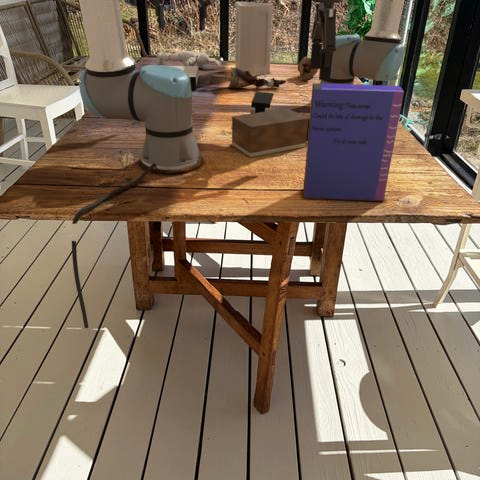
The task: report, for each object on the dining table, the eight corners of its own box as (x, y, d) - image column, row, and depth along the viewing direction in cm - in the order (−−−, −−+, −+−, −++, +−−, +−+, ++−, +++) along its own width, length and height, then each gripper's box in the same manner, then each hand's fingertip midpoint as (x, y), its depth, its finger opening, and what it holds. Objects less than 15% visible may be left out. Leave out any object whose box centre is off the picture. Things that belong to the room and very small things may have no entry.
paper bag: (273, 76, 210) (276, 6, 196) (239, 77, 209) (240, 6, 194) (266, 67, 226) (268, 2, 212) (235, 67, 225) (235, 1, 210)
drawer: (309, 129, 146) (310, 108, 142) (328, 138, 139) (330, 116, 135) (243, 140, 136) (244, 118, 133) (260, 150, 129) (261, 128, 126)
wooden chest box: (285, 135, 143) (287, 108, 139) (305, 146, 135) (308, 118, 131) (231, 144, 135) (231, 116, 131) (250, 157, 127) (251, 127, 123)
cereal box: (379, 191, 109) (398, 84, 97) (383, 201, 105) (404, 90, 93) (303, 188, 110) (312, 82, 98) (304, 197, 106) (314, 88, 94)
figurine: (210, 87, 179) (288, 95, 182) (212, 65, 176) (291, 73, 180) (208, 84, 201) (278, 91, 205) (210, 64, 198) (280, 71, 202)
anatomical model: (307, 83, 216) (306, 83, 202) (293, 69, 215) (291, 69, 201) (327, 61, 212) (327, 60, 198) (313, 47, 211) (312, 45, 197)
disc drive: (151, 89, 187) (150, 76, 185) (158, 77, 206) (157, 64, 204) (196, 90, 188) (195, 77, 185) (199, 77, 207) (198, 65, 204)
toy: (176, 74, 211) (175, 58, 207) (152, 64, 228) (150, 49, 225) (222, 68, 223) (222, 53, 219) (196, 59, 240) (196, 44, 237)
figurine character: (269, 131, 150) (273, 112, 162) (270, 107, 146) (274, 90, 157) (248, 129, 151) (253, 111, 163) (248, 106, 146) (254, 89, 158)
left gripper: (223, -50, 139) (223, 29, 150) (144, -51, 145) (150, 25, 156) (214, -50, 133) (215, 32, 144) (133, -51, 138) (140, 28, 149)
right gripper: (356, -13, 106) (343, 85, 117) (332, -19, 127) (324, 64, 138) (322, -13, 106) (313, 85, 117) (304, -19, 127) (298, 64, 138)
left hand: (181, 29), depth 150 cm, fingers open, 13 cm apart
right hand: (319, 74), depth 128 cm, fingers open, 13 cm apart
